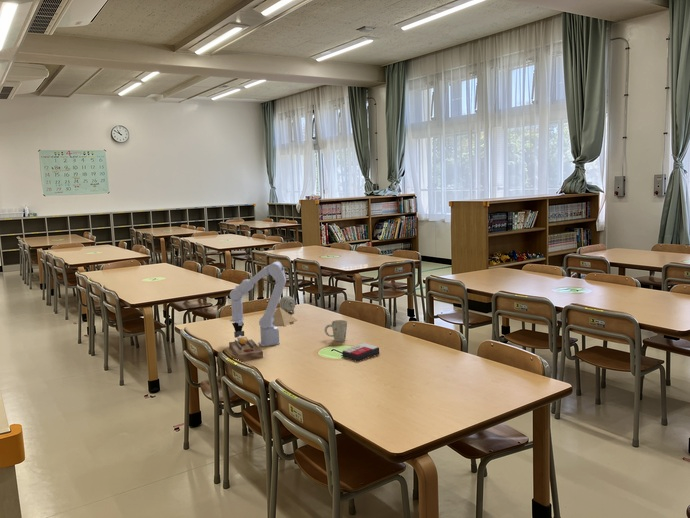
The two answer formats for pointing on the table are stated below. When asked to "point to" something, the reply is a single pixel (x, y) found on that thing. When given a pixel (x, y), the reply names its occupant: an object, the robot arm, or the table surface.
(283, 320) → the model pyramid
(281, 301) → the toy sheep
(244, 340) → the ball
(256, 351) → the launcher base
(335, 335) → the mug
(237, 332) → the grey block
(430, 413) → the table surface
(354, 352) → the flat black red box
